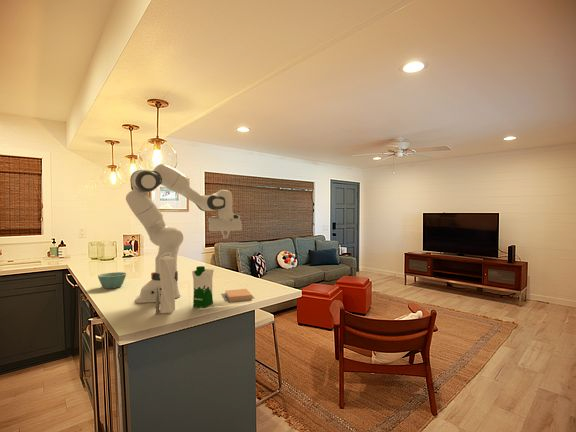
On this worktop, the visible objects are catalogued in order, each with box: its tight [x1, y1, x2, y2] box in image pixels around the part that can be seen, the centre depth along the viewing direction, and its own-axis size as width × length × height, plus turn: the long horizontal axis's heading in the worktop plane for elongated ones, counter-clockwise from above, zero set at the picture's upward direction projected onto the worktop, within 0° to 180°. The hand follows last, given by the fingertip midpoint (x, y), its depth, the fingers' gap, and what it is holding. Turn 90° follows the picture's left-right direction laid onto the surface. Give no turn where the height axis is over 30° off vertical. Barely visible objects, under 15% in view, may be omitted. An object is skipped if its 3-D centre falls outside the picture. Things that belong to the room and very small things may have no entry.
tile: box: [224, 288, 253, 303], centre depth 164 cm, size 12×2×14 cm
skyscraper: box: [154, 253, 176, 316], centre depth 143 cm, size 8×8×28 cm
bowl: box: [97, 271, 127, 290], centre depth 190 cm, size 16×16×8 cm
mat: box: [220, 292, 256, 302], centre depth 167 cm, size 16×16×1 cm
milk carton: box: [191, 265, 214, 309], centre depth 151 cm, size 9×9×20 cm
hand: (225, 238), depth 186 cm, fingers closed
